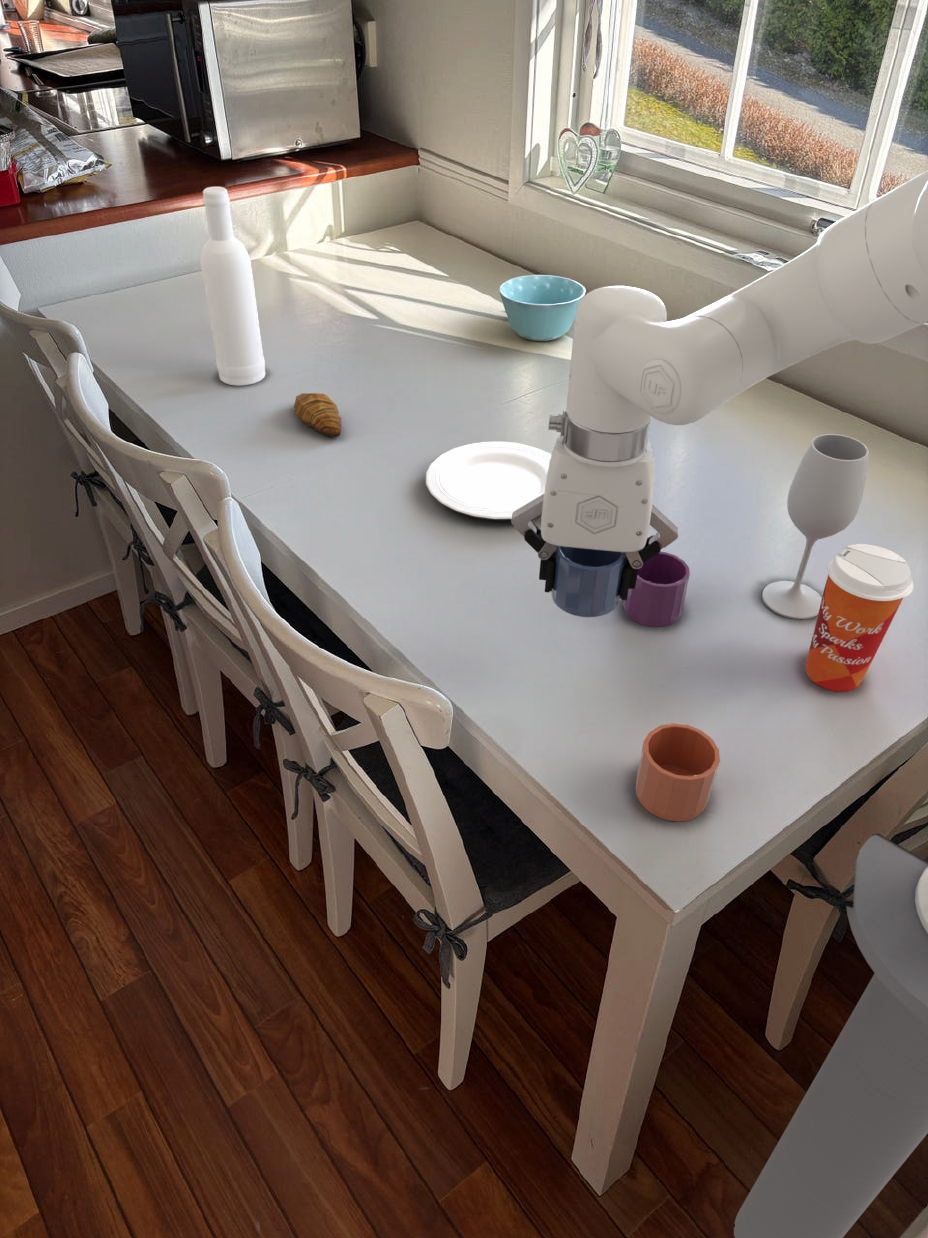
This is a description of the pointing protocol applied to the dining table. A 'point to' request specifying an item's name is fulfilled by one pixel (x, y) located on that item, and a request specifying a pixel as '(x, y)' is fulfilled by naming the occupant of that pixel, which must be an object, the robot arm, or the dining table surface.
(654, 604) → the plum cup
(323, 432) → the croissant
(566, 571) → the blue faceted cup
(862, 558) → the coffee cup
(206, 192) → the bottle
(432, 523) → the dining table surface
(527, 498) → the plate
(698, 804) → the terracotta cup
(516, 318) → the bowl
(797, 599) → the wineglass
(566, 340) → the dining table surface
